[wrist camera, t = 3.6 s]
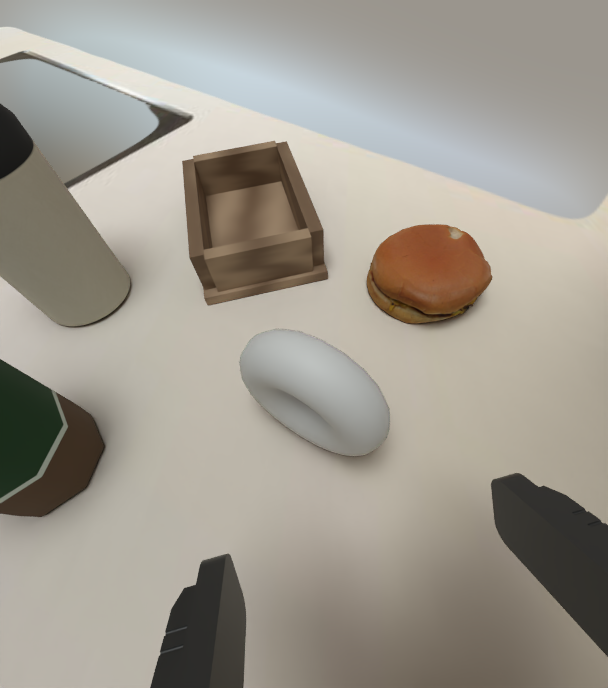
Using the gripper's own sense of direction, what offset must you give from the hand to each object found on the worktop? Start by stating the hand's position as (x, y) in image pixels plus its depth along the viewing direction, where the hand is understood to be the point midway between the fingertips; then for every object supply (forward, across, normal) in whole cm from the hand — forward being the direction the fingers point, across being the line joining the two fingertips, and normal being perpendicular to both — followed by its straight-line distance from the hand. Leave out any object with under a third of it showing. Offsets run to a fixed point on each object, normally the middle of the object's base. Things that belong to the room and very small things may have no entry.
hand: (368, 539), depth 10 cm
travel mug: (+27, +18, -10) cm, 34 cm away
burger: (+22, -13, -4) cm, 26 cm away
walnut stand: (+30, +1, -12) cm, 33 cm away
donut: (+15, 0, +3) cm, 15 cm away
